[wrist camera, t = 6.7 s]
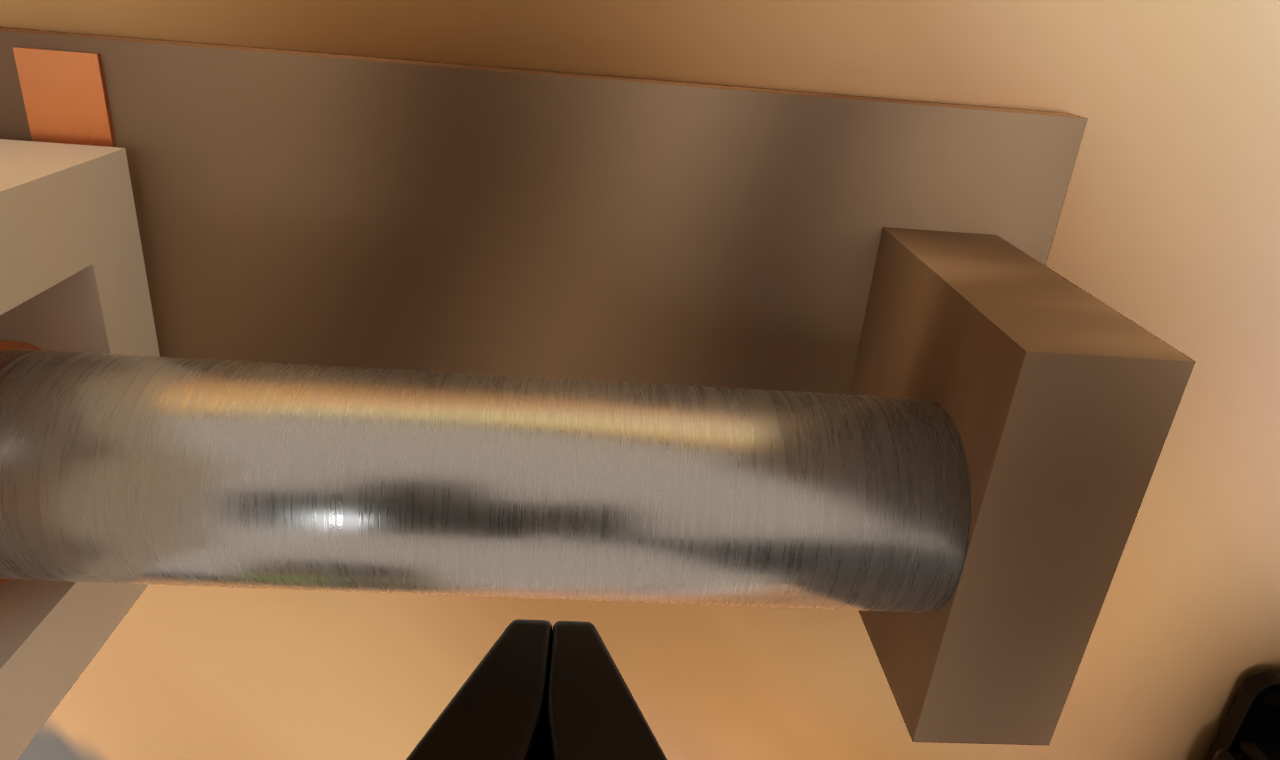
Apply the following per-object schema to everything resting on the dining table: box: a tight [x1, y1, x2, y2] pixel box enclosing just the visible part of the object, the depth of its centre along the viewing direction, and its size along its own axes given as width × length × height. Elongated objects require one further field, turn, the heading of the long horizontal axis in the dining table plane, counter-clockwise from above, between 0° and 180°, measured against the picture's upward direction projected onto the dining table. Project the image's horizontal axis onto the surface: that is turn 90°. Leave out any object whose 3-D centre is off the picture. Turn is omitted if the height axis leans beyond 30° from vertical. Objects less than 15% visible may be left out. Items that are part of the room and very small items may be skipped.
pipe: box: [0, 47, 971, 613], centre depth 13 cm, size 20×10×6 cm, turn 85°
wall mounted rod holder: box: [0, 27, 1195, 745], centre depth 13 cm, size 22×10×6 cm, turn 85°
